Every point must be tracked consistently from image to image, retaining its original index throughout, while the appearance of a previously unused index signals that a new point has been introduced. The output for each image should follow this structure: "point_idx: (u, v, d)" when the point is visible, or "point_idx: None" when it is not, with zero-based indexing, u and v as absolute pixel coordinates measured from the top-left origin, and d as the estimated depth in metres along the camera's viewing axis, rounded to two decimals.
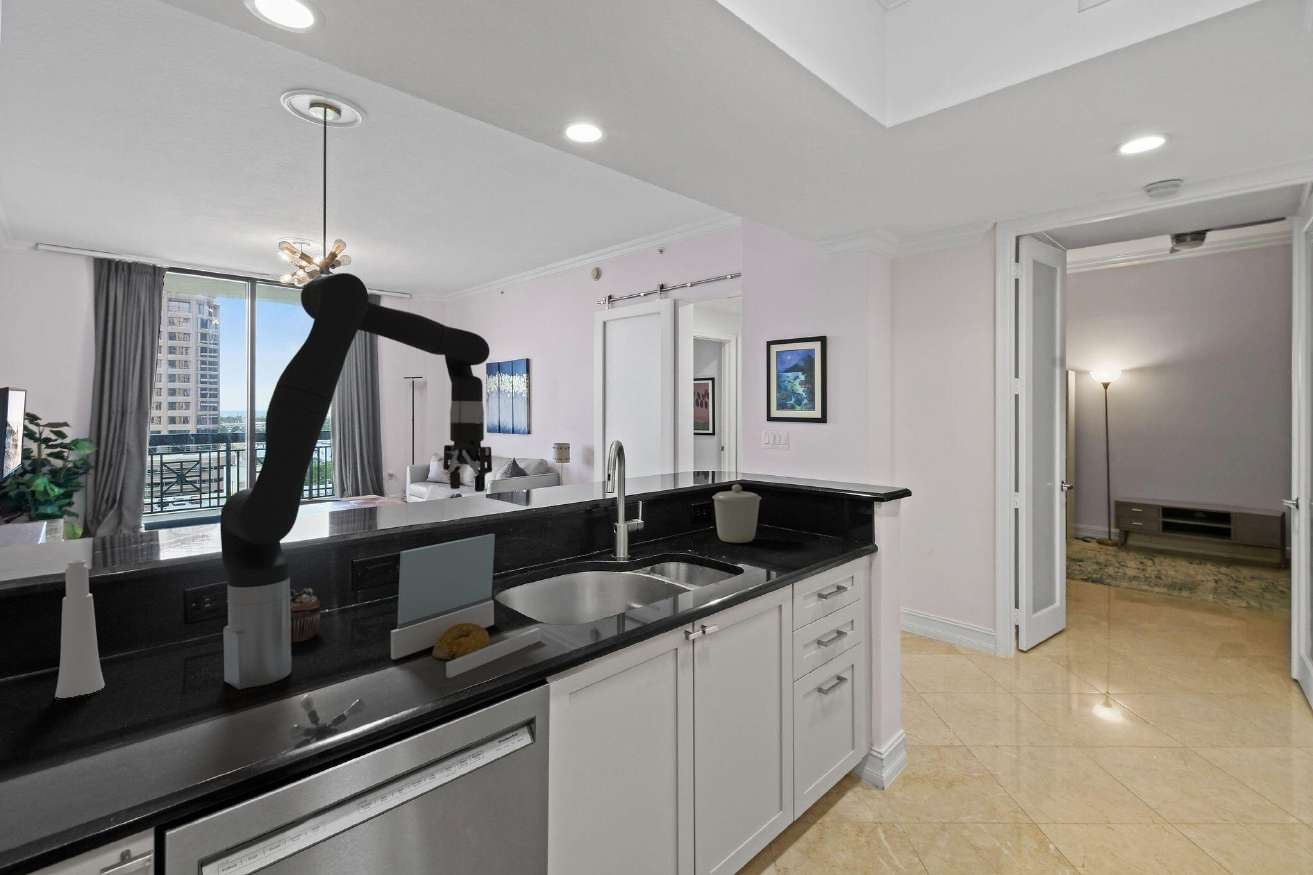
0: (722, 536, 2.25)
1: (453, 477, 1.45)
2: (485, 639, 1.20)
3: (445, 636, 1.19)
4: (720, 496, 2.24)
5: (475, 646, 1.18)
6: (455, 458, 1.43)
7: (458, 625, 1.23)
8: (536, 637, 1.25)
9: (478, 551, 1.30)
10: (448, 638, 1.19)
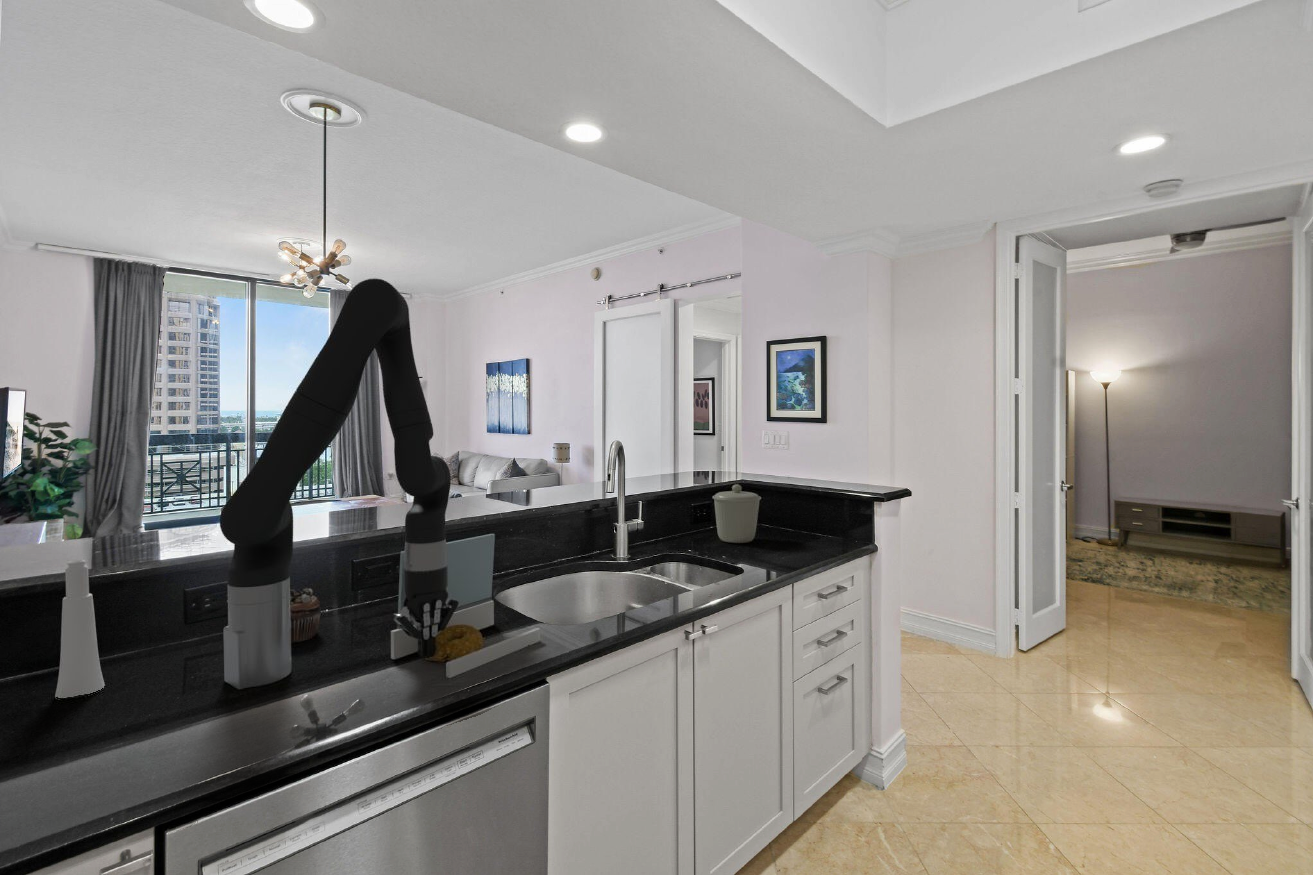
0: (722, 536, 2.25)
1: None
2: (479, 641, 1.19)
3: (438, 638, 1.18)
4: (720, 496, 2.24)
5: (468, 647, 1.17)
6: (427, 615, 1.12)
7: (451, 627, 1.22)
8: (536, 637, 1.25)
9: (478, 551, 1.30)
10: (441, 640, 1.18)
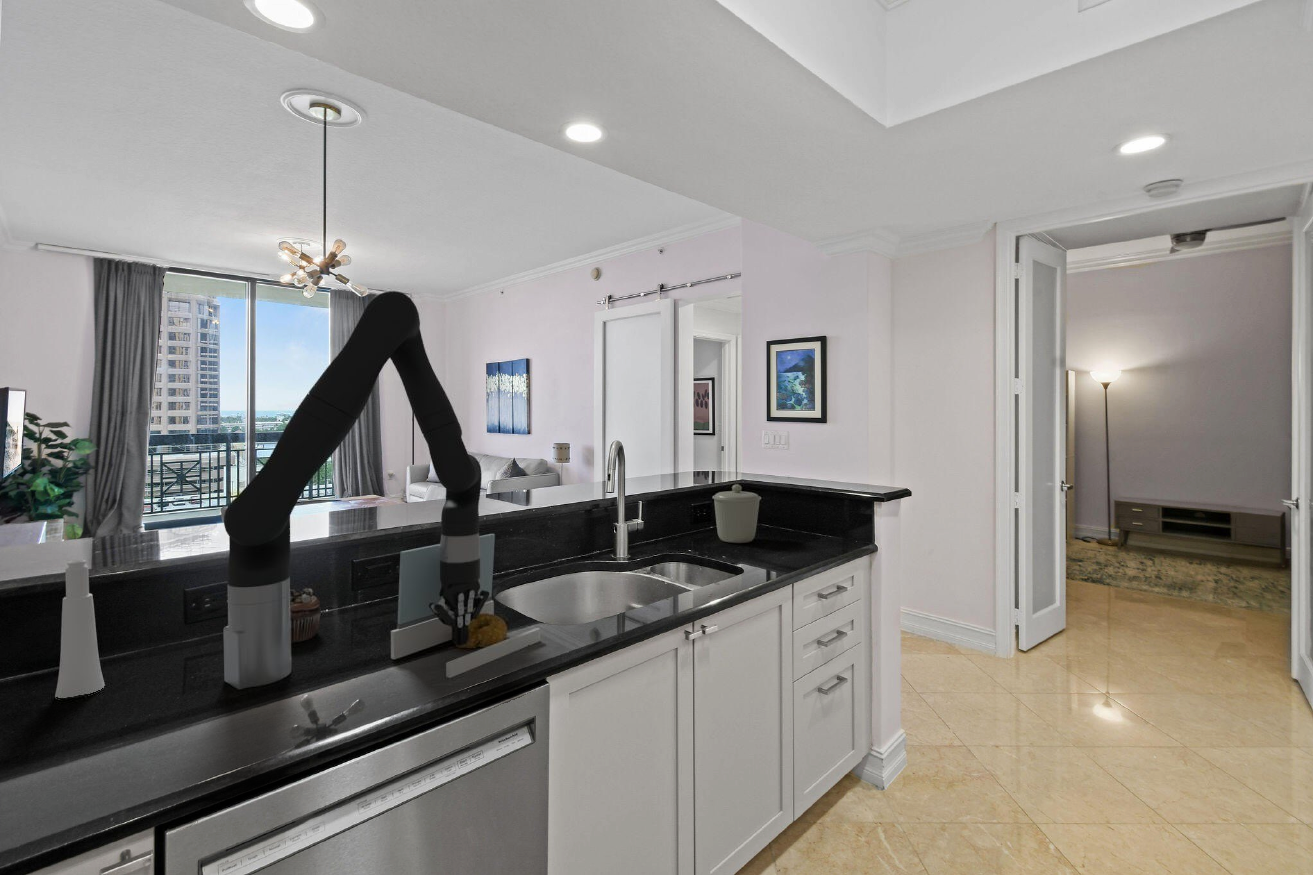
0: (722, 536, 2.25)
1: None
2: (504, 627, 1.27)
3: None
4: (720, 496, 2.24)
5: (497, 633, 1.24)
6: (461, 604, 1.18)
7: None
8: (536, 637, 1.25)
9: None
10: (470, 628, 1.24)
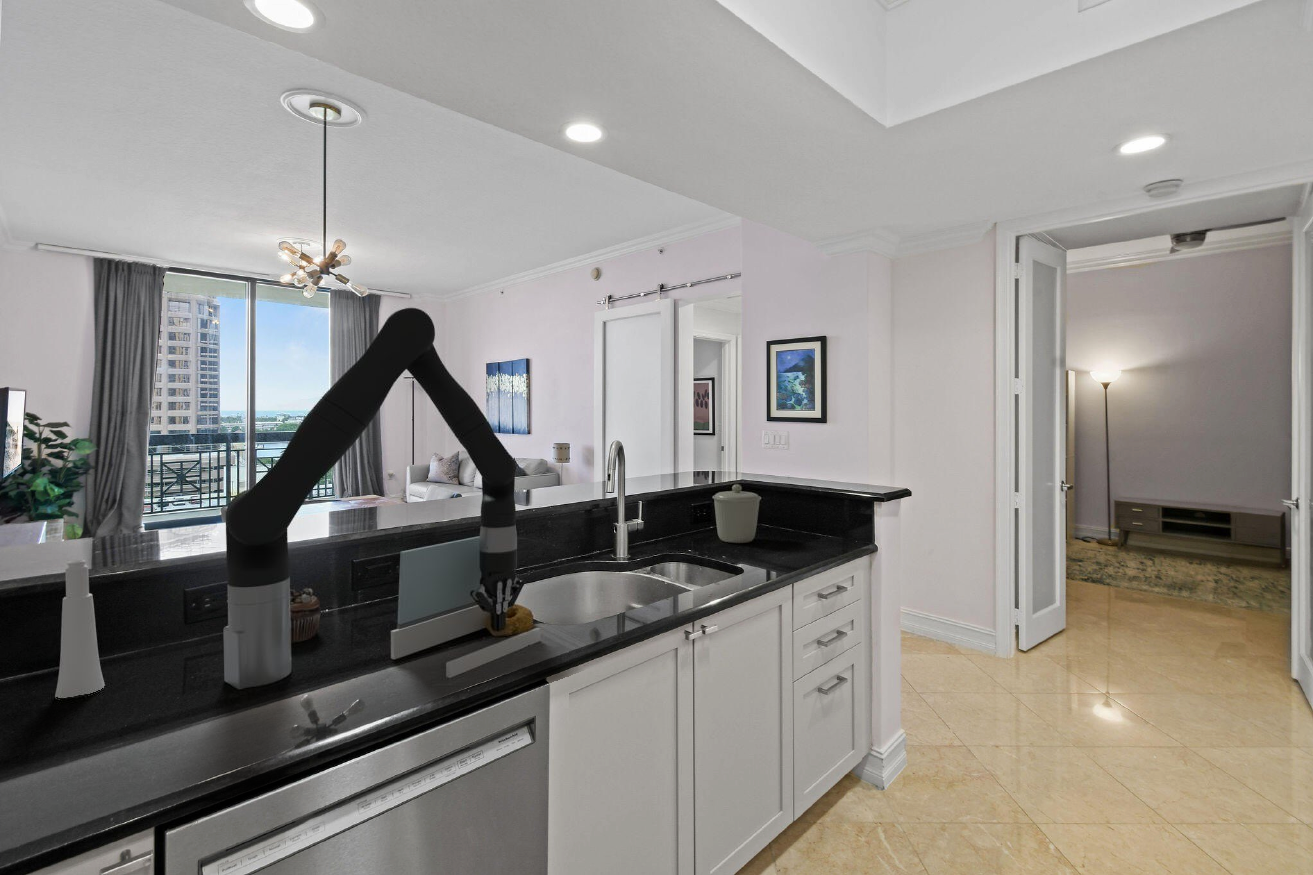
0: (722, 536, 2.25)
1: None
2: None
3: None
4: (720, 496, 2.24)
5: (529, 620, 1.32)
6: (500, 592, 1.25)
7: None
8: (536, 637, 1.25)
9: (478, 551, 1.30)
10: None
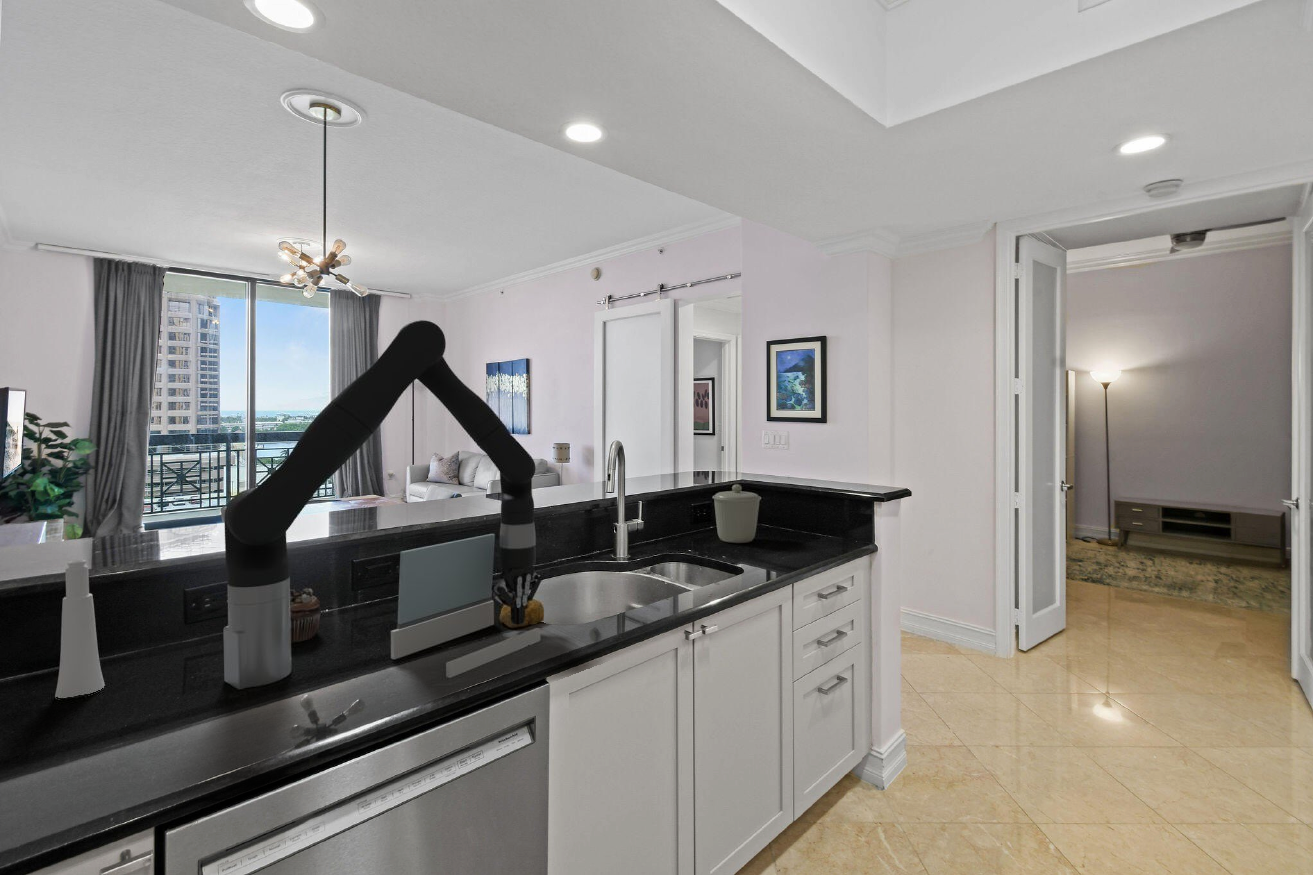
0: (722, 536, 2.25)
1: None
2: None
3: None
4: (720, 496, 2.24)
5: (542, 611, 1.39)
6: (520, 586, 1.30)
7: None
8: (536, 637, 1.25)
9: (478, 551, 1.30)
10: None
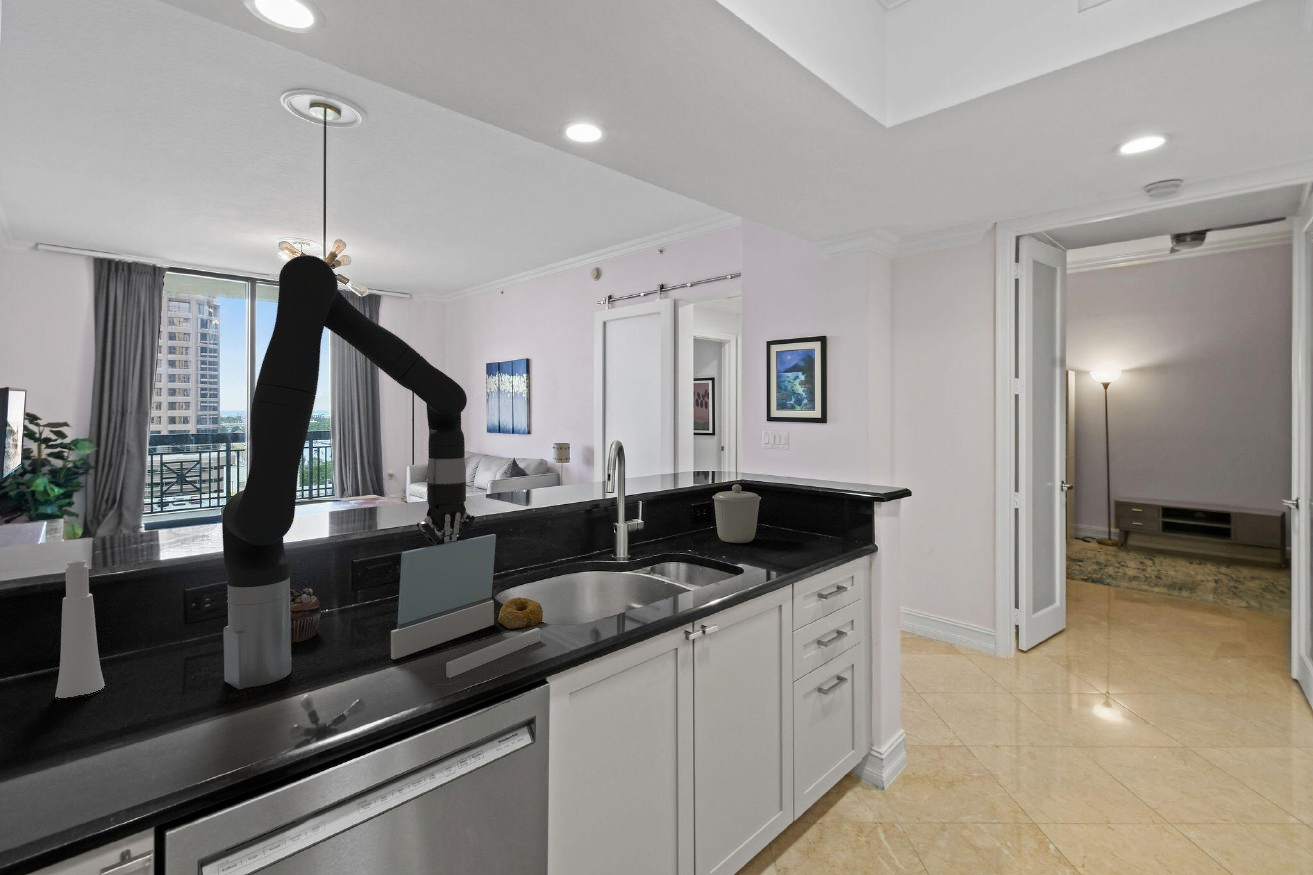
0: (722, 536, 2.25)
1: None
2: None
3: (511, 610, 1.36)
4: (720, 496, 2.24)
5: (540, 612, 1.38)
6: (448, 524, 1.24)
7: (511, 600, 1.39)
8: (536, 637, 1.25)
9: (479, 552, 1.30)
10: (515, 610, 1.36)
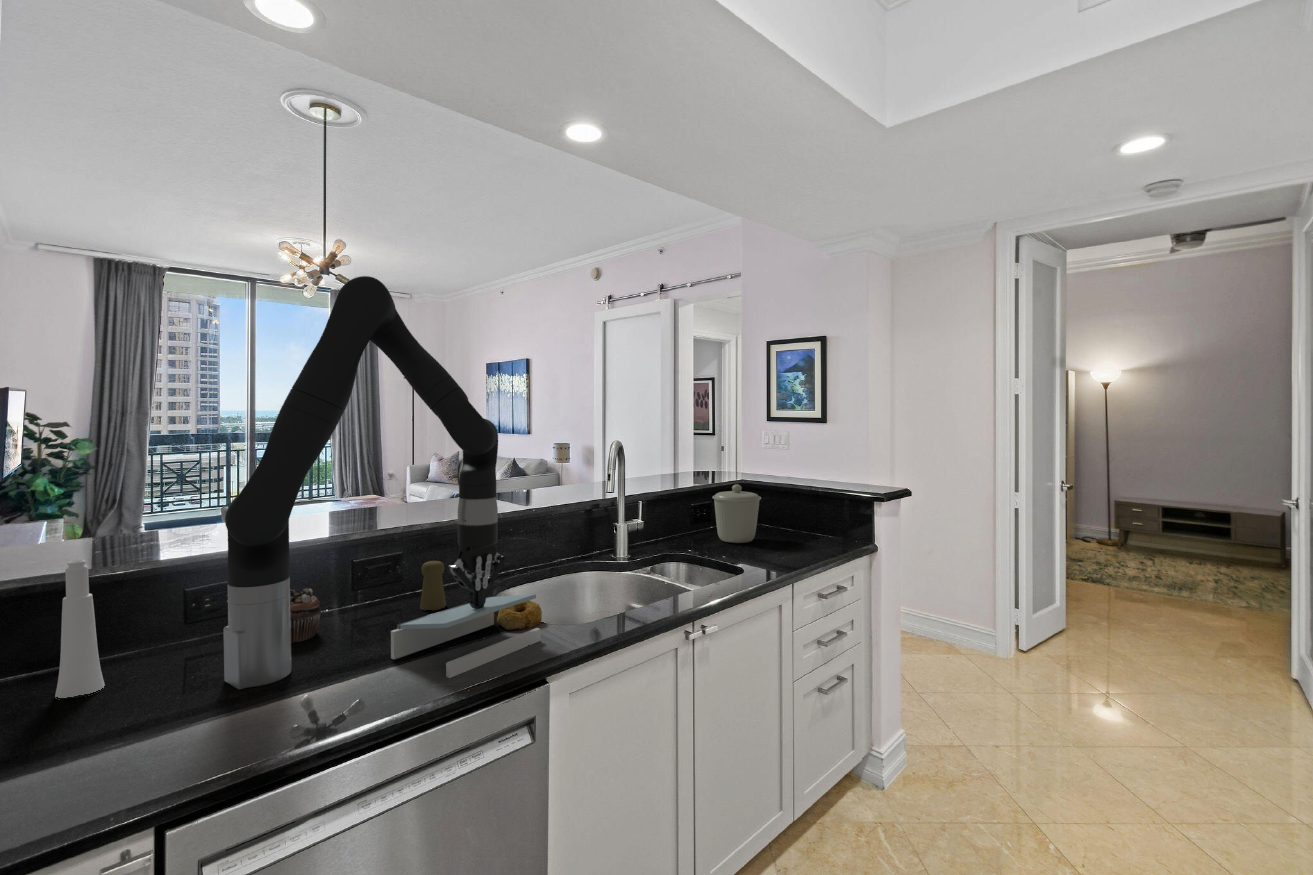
0: (722, 536, 2.25)
1: None
2: None
3: (509, 611, 1.35)
4: (720, 496, 2.24)
5: (539, 613, 1.37)
6: (479, 567, 1.19)
7: None
8: (536, 637, 1.25)
9: None
10: (514, 611, 1.35)
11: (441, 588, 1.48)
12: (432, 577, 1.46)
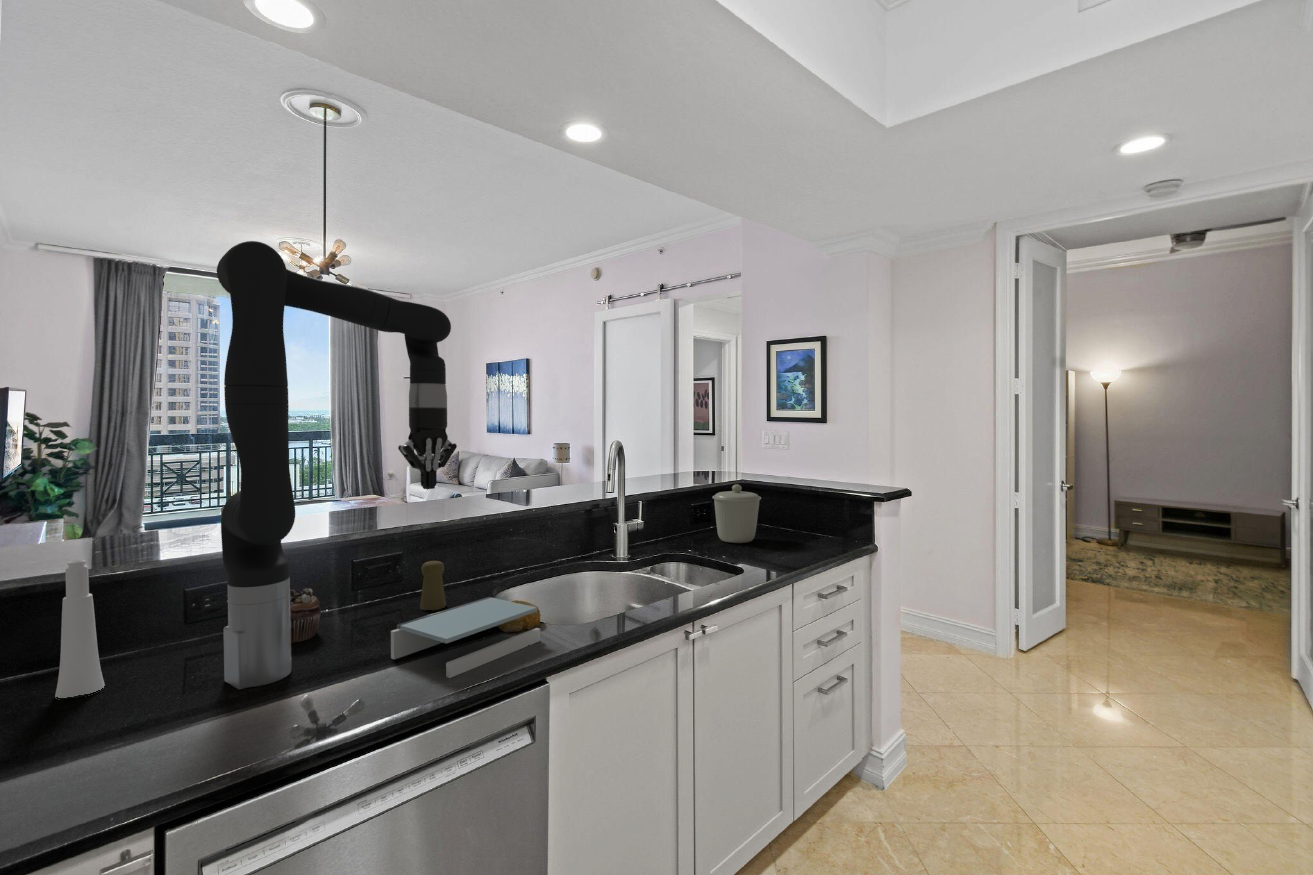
0: (722, 536, 2.25)
1: None
2: None
3: None
4: (720, 496, 2.24)
5: (538, 615, 1.35)
6: (429, 449, 1.26)
7: None
8: (536, 637, 1.25)
9: None
10: None
11: (441, 588, 1.48)
12: (432, 577, 1.46)
